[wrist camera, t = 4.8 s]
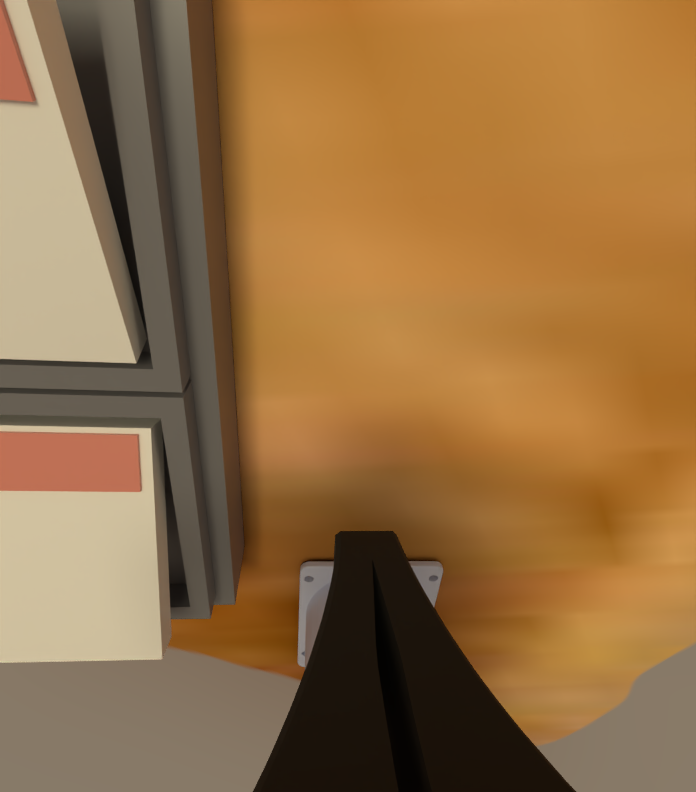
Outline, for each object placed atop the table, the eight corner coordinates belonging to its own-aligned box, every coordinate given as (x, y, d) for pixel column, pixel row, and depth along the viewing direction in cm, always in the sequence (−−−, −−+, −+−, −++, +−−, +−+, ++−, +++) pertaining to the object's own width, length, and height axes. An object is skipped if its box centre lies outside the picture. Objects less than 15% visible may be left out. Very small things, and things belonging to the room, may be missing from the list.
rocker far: (171, 636, 19) (160, 662, 17) (11, 638, 18) (-12, 666, 17) (162, 418, 17) (149, 429, 15) (-19, 414, 16) (-48, 425, 15)
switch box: (244, 546, 25) (231, 628, 21) (48, 546, 24) (-5, 631, 20) (208, -65, 13) (160, -149, 9) (-186, -109, 12) (-434, -222, 8)
